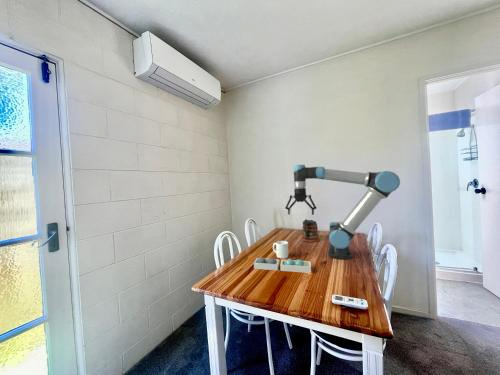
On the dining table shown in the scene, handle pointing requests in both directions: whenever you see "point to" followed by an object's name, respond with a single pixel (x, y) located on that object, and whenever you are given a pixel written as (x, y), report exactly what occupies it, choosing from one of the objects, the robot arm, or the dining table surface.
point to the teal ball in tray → (299, 263)
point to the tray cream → (296, 267)
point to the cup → (281, 249)
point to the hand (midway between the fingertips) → (300, 219)
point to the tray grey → (266, 265)
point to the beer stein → (310, 231)
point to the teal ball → (289, 262)
